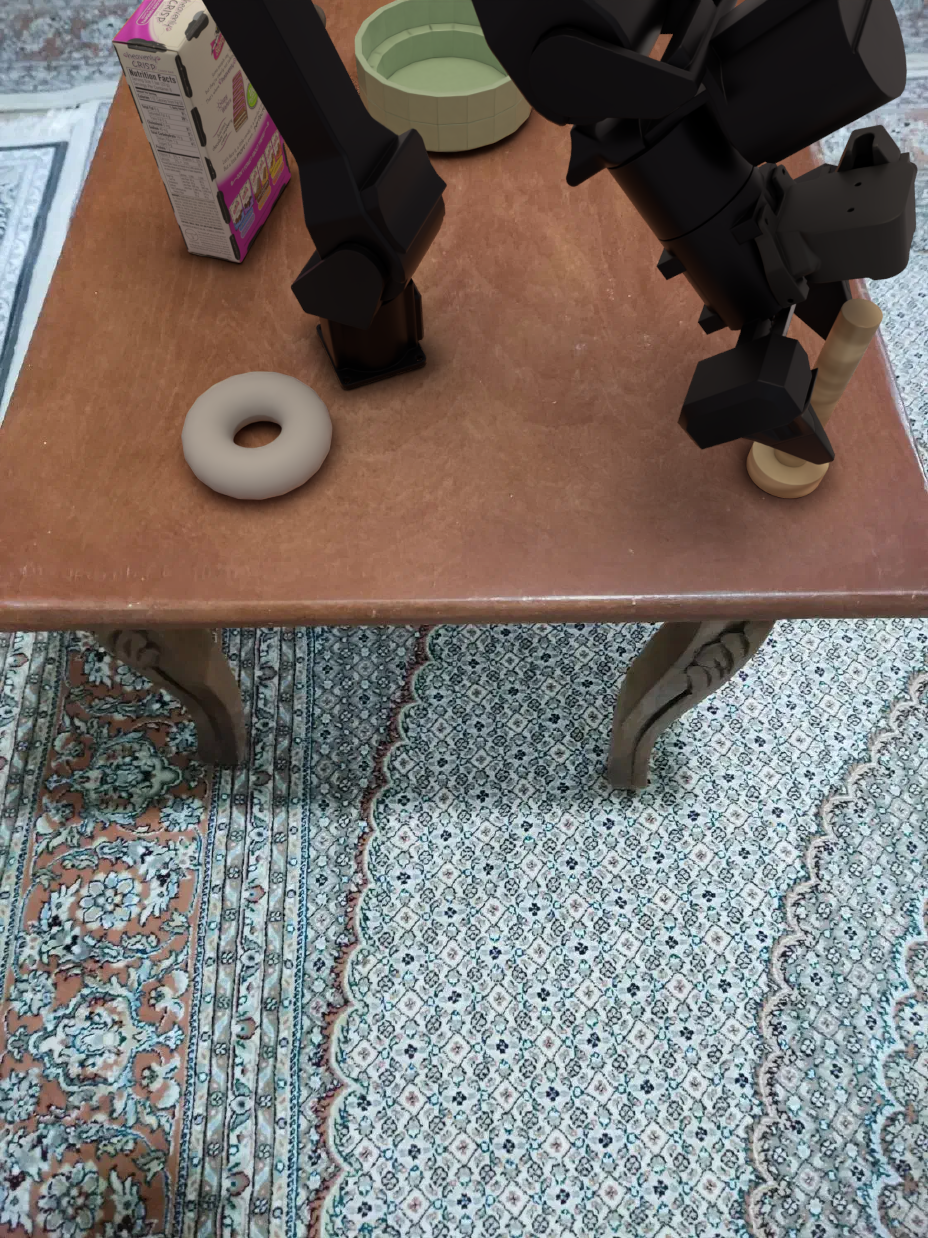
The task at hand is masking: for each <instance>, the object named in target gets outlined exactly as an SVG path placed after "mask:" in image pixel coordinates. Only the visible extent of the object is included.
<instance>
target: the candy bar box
mask: <svg viewBox="0 0 928 1238" xmlns="http://www.w3.org/2000/svg"><path fill="white" fill-rule="evenodd" d="M111 43H112V46H113V48H114V50H115V54H116V56H117V59H118V62H119V65H120V68H121V70H122V72H123V75H124V79H125V81H126V84H127V86H128V90H129V92H130V96H131V98H132V100H133V103H134V106H135V109H136V111H137V114H138V117H139V121H140V123H141V127H142V128H143V131H144V134H145V136H146V139H147V140H146V141H147V143H148V144H149V146H150V150H151V152H152V157H153V158H154V160H155V164H156V167H157V170H158V174H159V176H160V179H161V180H162V184H163V186H164V189H165V192H166V195H167V197H168V200H169V203H170V205H171V208H172V209H171V210H172V212H173V214H174V218H175V221H176V222H177V225H178V229H179V231H180V234H181V236H182V239H183V242H184V245H185V247H186V250H187V253H190V254H193V255H197V256H199V257H206V258H207V257H208V258H213V259H218V260H223V261H227V262H233V263H239V264H241V263H242V262H243V261H244V260H245V257H246V256H247V254H248V252H249V251H250V249H251V247H252V245H253V243H254V242H255V240H256V238H257V237H258V235H259V233H260V231H261V229H262V227H263V226H264V224H265V222H266V221H267V219H268V217H269V215H270V213H271V212H272V210H273V208H274V206H275V205H276V203H277V201H278V199H280V196H281V194H282V193H283V191H284V190H285V187H286V186H287V184H288V182H290V179H291V177H292V172H291V169H290V164H289V159H288V155H287V154H288V153H287V150H286V144H285V141H284V140H283V138H282V136H281V134H280V133H279V131H278V129H277V128H276V126H275V124H274V123H273V121H272V119H271V117H270V116H269V114H268V112H267V111H266V109H265V107H264V105H263V104H262V102H261V100H260V99H259V97H258V95H257V94H256V92H255V90H254V88H253V87H252V85H251V83H250V82H249V80H248V78H247V77H246V75H245V73H244V71H243V70H242V68H241V66H240V65H239V63H238V61H237V60H236V58H235V56H234V54H233V53H232V51H231V49H230V48H229V46H228V44H227V42H226V41H225V39H224V37H223V36H222V34H221V32H220V31H219V29H218V27H217V25H216V24H215V22H214V20H213V19H212V17H211V15H210V14H209V12H208V10H207V8H206V7H205V5H204V3H203V2H202V0H142V1H141V3H140V4H139V6H138V7H137V8H135V10H134V11H133V13H132V14H131V15H130V17H129V18H128V19H127V20H126V21H125V23H124V24H123V25H122V26H121V28H120V29H119V31H118V32H117V33H116V34H115V35H114V36H113V38H112V39H111Z"/></svg>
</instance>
